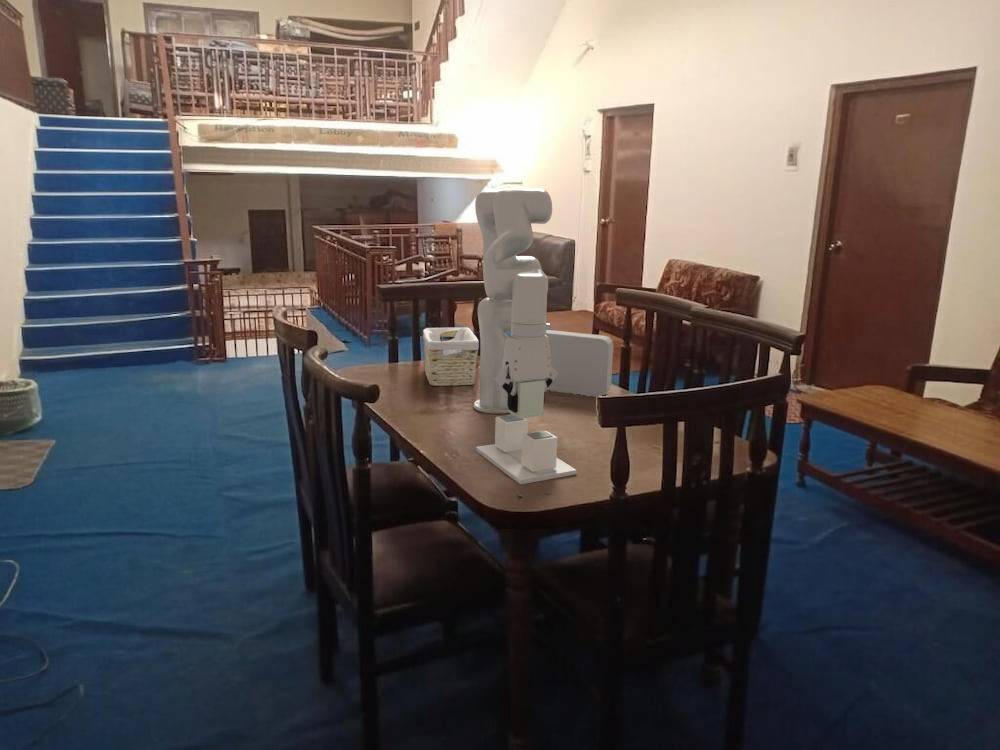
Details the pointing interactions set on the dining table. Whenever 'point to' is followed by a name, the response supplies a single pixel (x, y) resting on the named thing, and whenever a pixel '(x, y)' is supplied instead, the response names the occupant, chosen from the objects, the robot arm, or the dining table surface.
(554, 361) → the rounded white slab
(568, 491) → the dining table surface
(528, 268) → the robot arm
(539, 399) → the block
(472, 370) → the storage basket
